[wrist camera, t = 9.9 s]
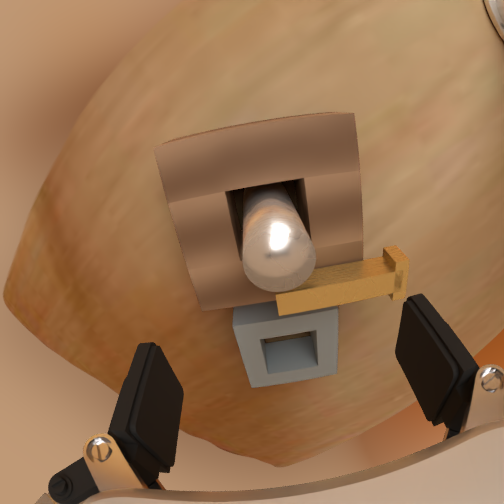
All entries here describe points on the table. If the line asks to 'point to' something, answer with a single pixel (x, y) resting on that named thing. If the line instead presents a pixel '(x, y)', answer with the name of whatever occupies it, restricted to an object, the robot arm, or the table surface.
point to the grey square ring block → (286, 343)
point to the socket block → (258, 173)
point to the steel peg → (274, 240)
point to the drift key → (349, 283)
